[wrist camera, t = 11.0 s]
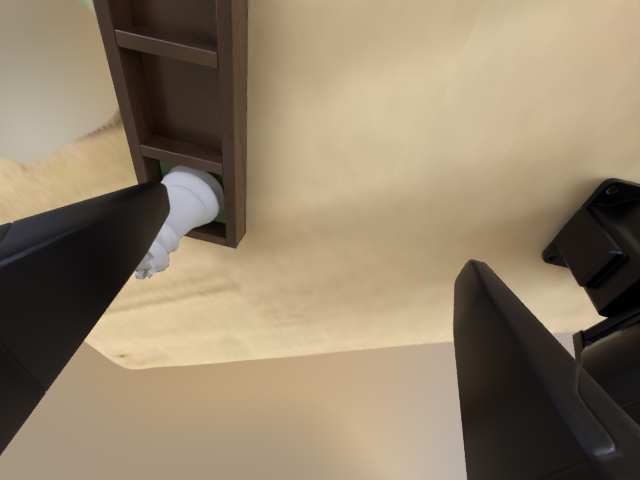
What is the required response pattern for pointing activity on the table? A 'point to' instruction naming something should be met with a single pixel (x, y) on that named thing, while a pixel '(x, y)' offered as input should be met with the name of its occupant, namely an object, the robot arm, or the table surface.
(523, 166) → the table surface
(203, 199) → the rook chess piece
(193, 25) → the tray
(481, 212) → the table surface
